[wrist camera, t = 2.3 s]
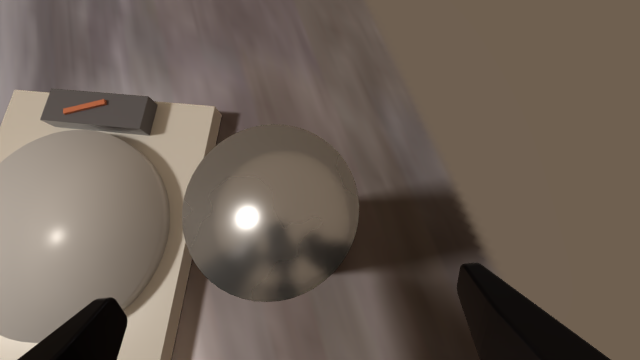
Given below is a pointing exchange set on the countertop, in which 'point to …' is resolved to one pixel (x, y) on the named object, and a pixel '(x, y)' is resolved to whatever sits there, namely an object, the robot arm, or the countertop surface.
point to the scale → (96, 213)
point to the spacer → (270, 213)
